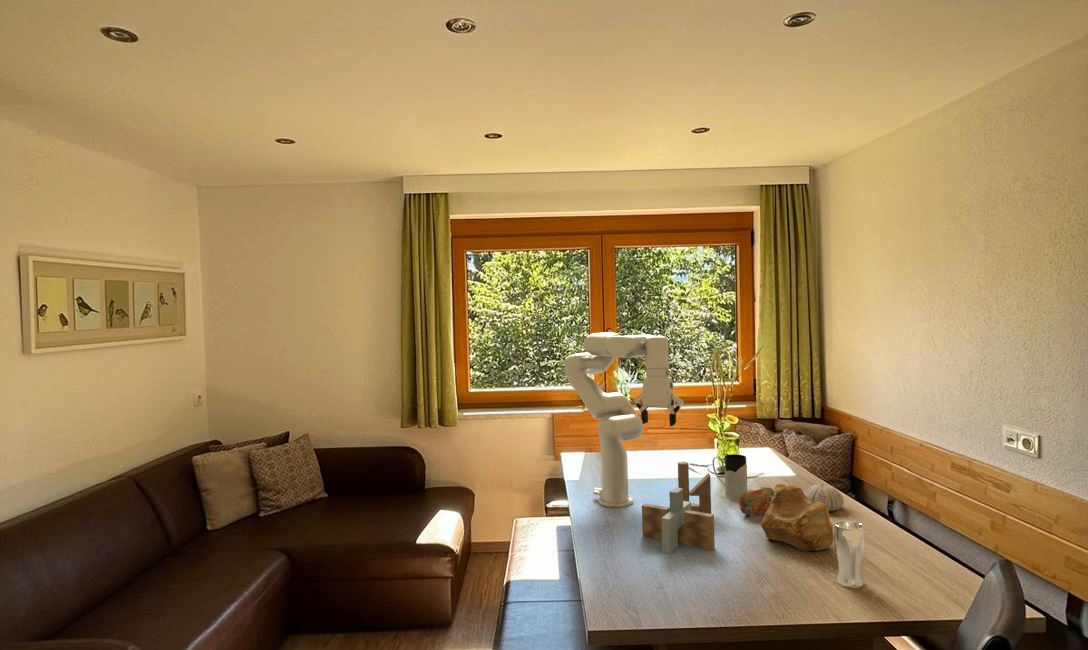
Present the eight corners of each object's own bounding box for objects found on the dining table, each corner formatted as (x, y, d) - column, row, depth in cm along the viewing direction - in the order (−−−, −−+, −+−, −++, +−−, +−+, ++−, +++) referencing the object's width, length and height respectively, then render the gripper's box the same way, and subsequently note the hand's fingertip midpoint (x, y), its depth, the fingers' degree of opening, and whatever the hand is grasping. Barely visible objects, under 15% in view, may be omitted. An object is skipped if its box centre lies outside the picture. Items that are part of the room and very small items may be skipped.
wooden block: (711, 517, 213) (710, 464, 212) (679, 516, 214) (677, 464, 213) (709, 513, 216) (708, 461, 216) (678, 513, 218) (676, 461, 217)
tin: (744, 518, 210) (744, 493, 210) (737, 515, 213) (737, 491, 213) (777, 510, 217) (776, 486, 217) (770, 507, 220) (769, 484, 220)
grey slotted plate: (684, 532, 199) (683, 482, 199) (691, 533, 198) (690, 483, 198) (662, 551, 184) (661, 497, 184) (670, 553, 183) (668, 498, 182)
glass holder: (740, 502, 227) (739, 460, 227) (706, 494, 238) (706, 454, 237) (753, 496, 233) (752, 456, 233) (720, 489, 244) (719, 450, 243)
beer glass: (829, 577, 164) (828, 520, 163) (855, 576, 164) (854, 519, 164) (844, 589, 157) (843, 530, 156) (871, 588, 157) (870, 528, 157)
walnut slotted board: (642, 537, 196) (641, 505, 196) (645, 534, 198) (644, 503, 198) (712, 550, 184) (711, 516, 184) (714, 547, 186) (713, 514, 186)
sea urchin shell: (800, 511, 216) (799, 488, 216) (804, 499, 228) (803, 477, 228) (843, 516, 210) (842, 492, 209) (844, 504, 222) (844, 481, 221)
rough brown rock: (746, 532, 200) (742, 486, 199) (794, 523, 203) (790, 478, 201) (787, 564, 177) (783, 512, 176) (840, 553, 180) (836, 502, 179)
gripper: (686, 372, 208) (687, 424, 208) (638, 371, 217) (639, 420, 218) (678, 375, 202) (679, 428, 202) (628, 373, 211) (630, 424, 212)
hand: (658, 424), depth 210 cm, fingers open, 9 cm apart
